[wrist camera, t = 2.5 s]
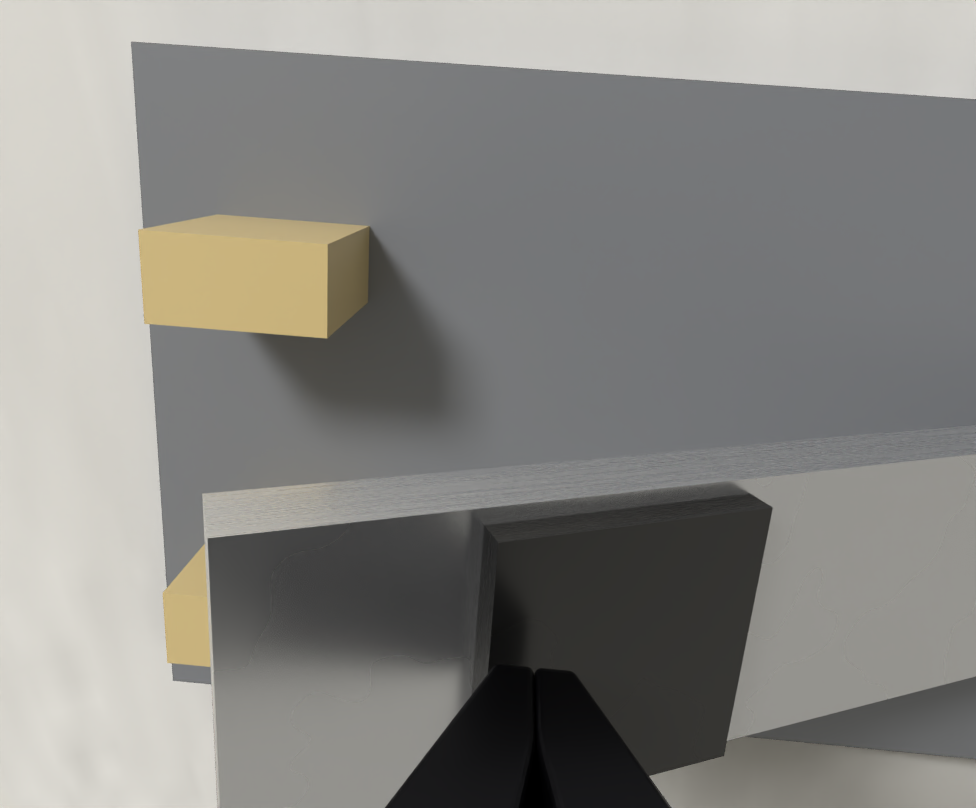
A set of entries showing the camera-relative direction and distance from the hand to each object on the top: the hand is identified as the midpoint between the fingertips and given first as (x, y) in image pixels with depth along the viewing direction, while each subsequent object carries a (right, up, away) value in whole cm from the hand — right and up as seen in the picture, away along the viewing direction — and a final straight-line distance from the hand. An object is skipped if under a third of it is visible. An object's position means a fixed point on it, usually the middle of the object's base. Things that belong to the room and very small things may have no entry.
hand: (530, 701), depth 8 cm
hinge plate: (+4, +3, +9) cm, 10 cm away
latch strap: (+5, +1, +4) cm, 7 cm away
